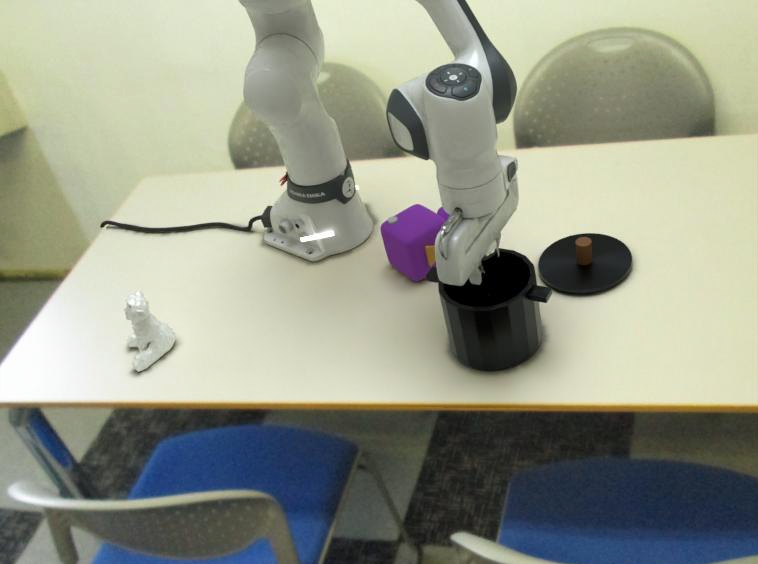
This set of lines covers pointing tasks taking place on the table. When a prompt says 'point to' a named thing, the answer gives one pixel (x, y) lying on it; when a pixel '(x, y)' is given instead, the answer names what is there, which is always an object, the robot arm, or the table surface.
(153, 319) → the sitting furry creature
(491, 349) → the pot
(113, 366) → the table surface
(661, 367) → the table surface
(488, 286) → the milkshake
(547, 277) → the pot lid
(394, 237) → the toy camera
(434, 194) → the table surface
